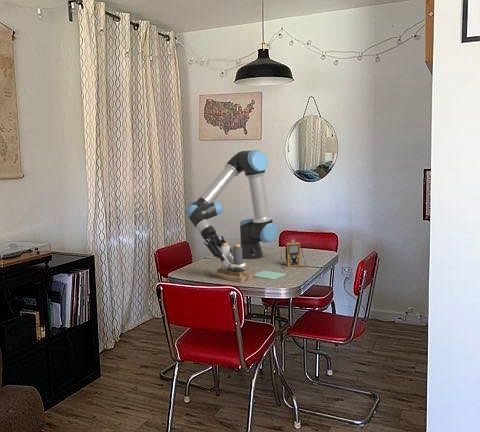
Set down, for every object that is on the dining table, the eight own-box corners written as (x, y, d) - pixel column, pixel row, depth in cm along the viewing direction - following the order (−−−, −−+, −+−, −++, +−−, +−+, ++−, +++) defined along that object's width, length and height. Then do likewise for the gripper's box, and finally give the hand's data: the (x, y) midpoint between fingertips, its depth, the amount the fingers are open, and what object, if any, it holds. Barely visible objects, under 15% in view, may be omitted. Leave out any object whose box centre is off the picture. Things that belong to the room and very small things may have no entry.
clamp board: (224, 273, 258) (224, 265, 258) (254, 277, 246) (254, 270, 245) (210, 277, 250) (210, 269, 249) (241, 282, 237) (240, 274, 237)
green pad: (263, 271, 259) (263, 270, 259) (286, 274, 250) (286, 273, 250) (250, 276, 250) (250, 275, 249) (272, 279, 241) (272, 278, 241)
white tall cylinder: (225, 271, 253) (224, 242, 251) (232, 272, 250) (231, 243, 249) (220, 273, 250) (219, 243, 248) (226, 274, 247) (225, 244, 245)
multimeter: (285, 270, 260) (284, 233, 258) (280, 266, 270) (279, 230, 268) (311, 268, 263) (311, 231, 261) (305, 264, 273) (304, 229, 270)
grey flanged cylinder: (237, 272, 249) (236, 243, 247) (249, 274, 244) (248, 244, 243) (230, 275, 245) (229, 245, 243) (242, 277, 240) (241, 246, 238)
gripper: (213, 232, 264) (238, 265, 256) (191, 237, 251) (216, 272, 242) (220, 223, 260) (246, 256, 252) (198, 227, 247) (224, 263, 239)
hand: (231, 264), depth 247 cm, fingers closed on white tall cylinder, 4 cm apart
